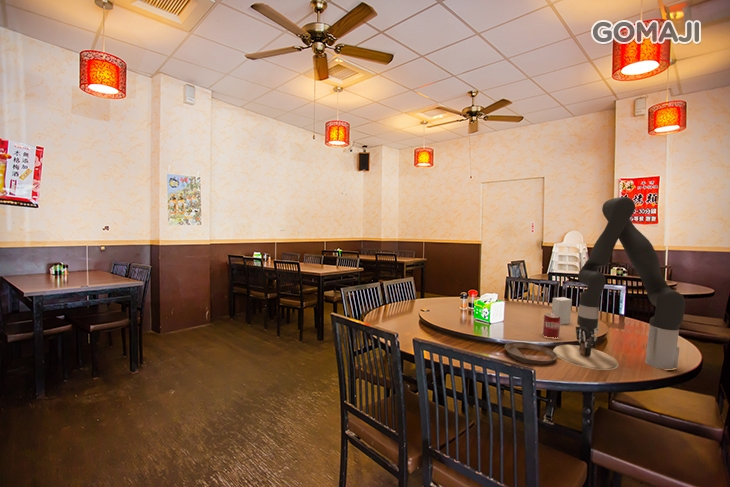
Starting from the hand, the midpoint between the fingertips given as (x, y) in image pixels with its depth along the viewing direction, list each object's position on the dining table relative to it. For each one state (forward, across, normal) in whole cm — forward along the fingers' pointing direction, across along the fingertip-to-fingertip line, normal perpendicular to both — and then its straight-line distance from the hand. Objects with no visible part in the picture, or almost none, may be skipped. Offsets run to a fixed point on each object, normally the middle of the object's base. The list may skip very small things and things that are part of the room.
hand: (584, 353), depth 147 cm
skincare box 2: (+2, +30, -18) cm, 35 cm away
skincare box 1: (+2, +49, -13) cm, 51 cm away
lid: (+2, 0, 0) cm, 2 cm away
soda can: (+2, +23, +4) cm, 23 cm away
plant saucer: (+3, -2, +24) cm, 24 cm away
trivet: (+2, 0, 0) cm, 2 cm away
